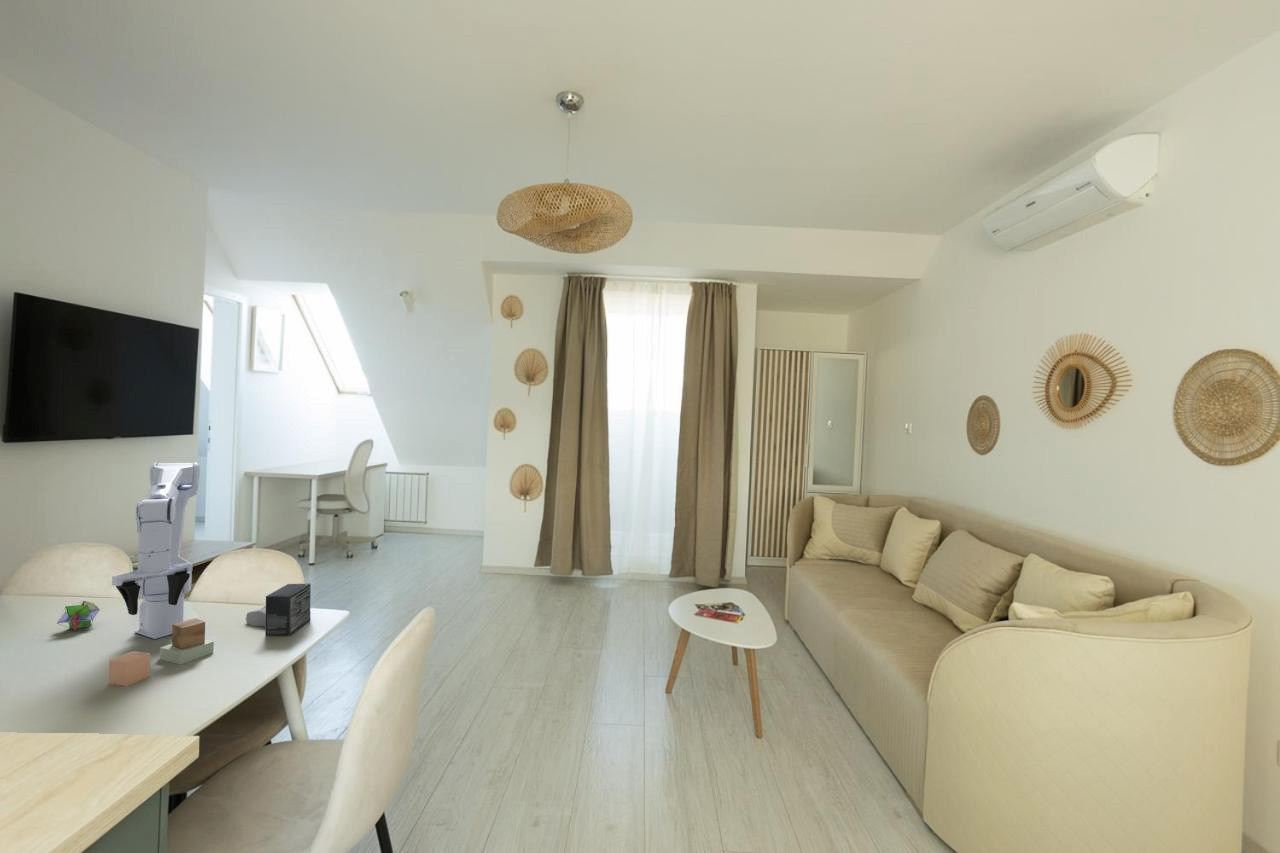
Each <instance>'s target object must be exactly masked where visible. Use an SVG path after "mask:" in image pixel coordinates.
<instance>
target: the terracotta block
mask: <svg viewBox="0 0 1280 853" xmlns="http://www.w3.org/2000/svg"><path fill="white" fill-rule="evenodd" d="M150 672H151V652H142V651H137V650H136V651H133V650H132V651H130V652H126V653H124V654H122V655H119V656H117V657H113V658H111V659H108V685H114V684H116V685H115V686H121V685H123V687H128V686H131V685H132V684H133V685H134V684H135V683H138V682H140V681H142V680H144V679H146V678H149V677H150V674H151V673H150Z"/></svg>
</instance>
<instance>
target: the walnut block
mask: <svg viewBox="0 0 1280 853" xmlns="http://www.w3.org/2000/svg"><path fill="white" fill-rule="evenodd" d="M205 639H206V621H204V620H201V619H199V618H197V617H194V618H191V619H186V620H183V621H182V622H178V623H174V624H172V634H171V644H172V646H174V647H176V648H178V649H180V650H184V649H187V648H190V647H194V646H197V645H200V644H204V643H205Z"/></svg>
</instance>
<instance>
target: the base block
mask: <svg viewBox="0 0 1280 853" xmlns="http://www.w3.org/2000/svg"><path fill="white" fill-rule="evenodd" d="M214 644H215V642H214V641H213V640H210V639H206V638H205V643H204V644H200V645H197V646H194V647H190V648H187V649H184V650H180V649H178V648H176V647H174V646H172V643H169V644H167V645H163V646H160V648H159V660H162V661H166V662H170V663H174V664H177V665H182V664H186V663H188V662H191V661H193V660H196V659H199V658H203V657H205V656H207V655H209V654H210V655H211V654H212V653H214V648H215V647H214Z"/></svg>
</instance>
